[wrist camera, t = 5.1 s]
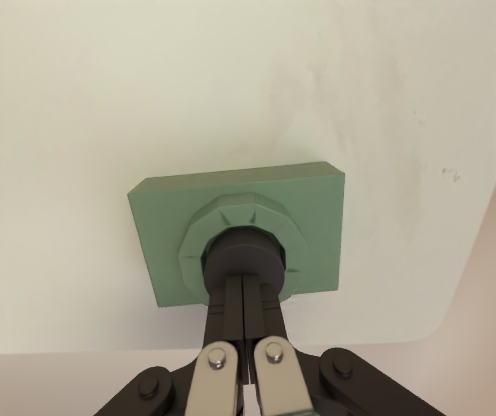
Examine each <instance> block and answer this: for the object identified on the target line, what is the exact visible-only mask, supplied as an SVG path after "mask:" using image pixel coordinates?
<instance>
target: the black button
mask: <svg viewBox="0 0 496 416" xmlns="http://www.w3.org/2000/svg"><path fill="white" fill-rule="evenodd" d="M250 273H258V276H259V284H263V283H271V284H272V285H273V286H274V287H275V289H276V290H277V293H278V295H279V294H280V292H281V290H282V288H283V286H284V282H285V271H284V267H283V264H282V261H281V257H280V254H279V250H278V248H277V246H276V244H275V242H274V241H273V240H272V239H271V238H270V237H269V236H268V235H266V234H265V233H263V232H261V231H258V230H255V229H250V228H239V229H234V230H230V231H228V232H226V233H224V234H222V235H221V236H219V237H218V238H217V239H216V240H215V241H214V242H213V244H212V245H211V247H210V249H209V251H208V255H207V261H206V266H205V271H204V285H205V288H206V291H207V293H208V294H209V296H210V295H211V294H212V292H213V291H214V289H215V288H222V287H225V283H226V276H229V275H239V274H242V282H243V274H250Z"/></svg>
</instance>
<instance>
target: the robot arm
mask: <svg viewBox="0 0 496 416" xmlns="http://www.w3.org/2000/svg"><path fill="white" fill-rule="evenodd" d="M208 306H209V307H208V313H207V314H208V315H207V320H206V328H205V335H204V342H203V347H202V350H201V352H200V353H199V355H198V356H197V358H196V359H195V360H194V361H192V362H191V363H190V364H188V365H186V366H184V367H182V368H180V369H178V370H175V371H173V372H169V371H168V370H167V369H166V368H164V367H159V366H156V367H151V368H148V369H146V370H144V371H142V372H141V373H139V374H138V375H137V376H136V377H135V378H134V379H133V380H132V381H130V382H129V383H128V384H127V385H126V386H125V387H124V388H123V389H122V390H121V391H120V392H119V393H118V394H116V395H115V396H114V397H113V398H112V399H111V400H110V401H109V402H108V403H107V404H106V405H105V406H104V407H103V408H101V409H100V410H99V411H98V412H97V413H96V414H95V415H94V416H245V405H244V398H243V385H247V384H249V373H248V365H249V372H250V381H251V384H255V387H256V396H257V402H258V405H259V407H260V414H261V416H446V415H444V414H443V413H441V412H440V411H438V410H437V409H435V408H434V407H432V406H431V405H429V404H428V403H427V402H425V401H424V400H422V399H421V398H419V397H418V396H416V395H415V394H413V393H412V392H410V391H409V390H407V389H406V388H404V387H403V386H401V385H400V384H399V383H397V382H396V381H394V380H392V379H391V378H390V377H388V376H387V375H385V374H384V373H382V372H381V371H379V370H378V369H377V368H375V367H374V366H372V365H371V364H369V363H368V362H366V361H365V360H363V359H362V358H360V357H359V356H357V355H356V354H354V353H353V352H351V351H349V350H347V349H343V348H331V349H328V350H326V351H325V352H324V353H323V354H322V355H321V357H318V356H313V355H308V354H304V353H302V352H300V351H298V350H297V349H295V348H294V347H293V346H292V344H291V343H290V342H289V340H288V338H287V334H286V329H285V325H284V320H283V316H282V311H281V308H280V302H279V298H278V293H277V290H276V289H275V287H274V286H273V285H272V284H271V283H263V284H259V276H258V273H250V274H243V282H242V274H239V275H229V276H226V283H225V287H222V288H215V289H214V291H213V292H212V294H211V295H210V298H209V305H208Z"/></svg>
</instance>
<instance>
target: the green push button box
mask: <svg viewBox="0 0 496 416" xmlns="http://www.w3.org/2000/svg"><path fill="white" fill-rule="evenodd" d="M344 182H345V173H343V172H341V171H340V170H338V169H337V168H335V167H334V166H332V165H330V164H329V163H327V162H318V163H307V164H296V165H285V166H274V167H264V168H253V169H242V170H231V171H220V172H210V173H199V174H188V175H177V176H166V177H156V178H146V179H145V180H144V181H142V182H141V183H140V184H139V185H137V186H136V187H135V188H134V189H133V190H131V191H130V192H129V193H128V194H127V195H128V199H129V203H130V206H131V210H132V214H133V217H134V221H135V224H136V228H137V232H138V235H139V239H140V243H141V246H142V250H143V253H144V257H145V261H146V264H147V268H148V272H149V275H150V279H151V282H152V286H153V290H154V293H155V297H156V301H157V304H158V307H169V306H179V305H190V304H200V303H203V304H205V305H206V306H208V305H209V298H210V296H209V294H208V293H207V291H206V288H205V285H204V271H205V266H206V261H207V255H208V251H209V249H210V247H211V245H212V244H213V242H214V241H215V240H216V239H217V238H218V237H219V236H221V235H222V234H224V233H226V232H228V231H230V230H234V229H239V228H250V229H255V230H258V231H261V232H263V233H265V234H266V235H268V236H269V237H270V238H271V239H272V240H273V241H274V242H275V244H276V246H277V248H278V250H279V254H280V257H281V261H282V264H283V267H284V271H285V282H284V286H283V288H282V290H281V292H280V294H279V295H278V298H279V302H280V303H281V302H282V301H284V300H286V299H288V298H290V297H291V296H292V295H293V294H303V293H314V292H324V291H334V290H338V282H339V265H340V248H341V232H342V215H343V198H344Z"/></svg>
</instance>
